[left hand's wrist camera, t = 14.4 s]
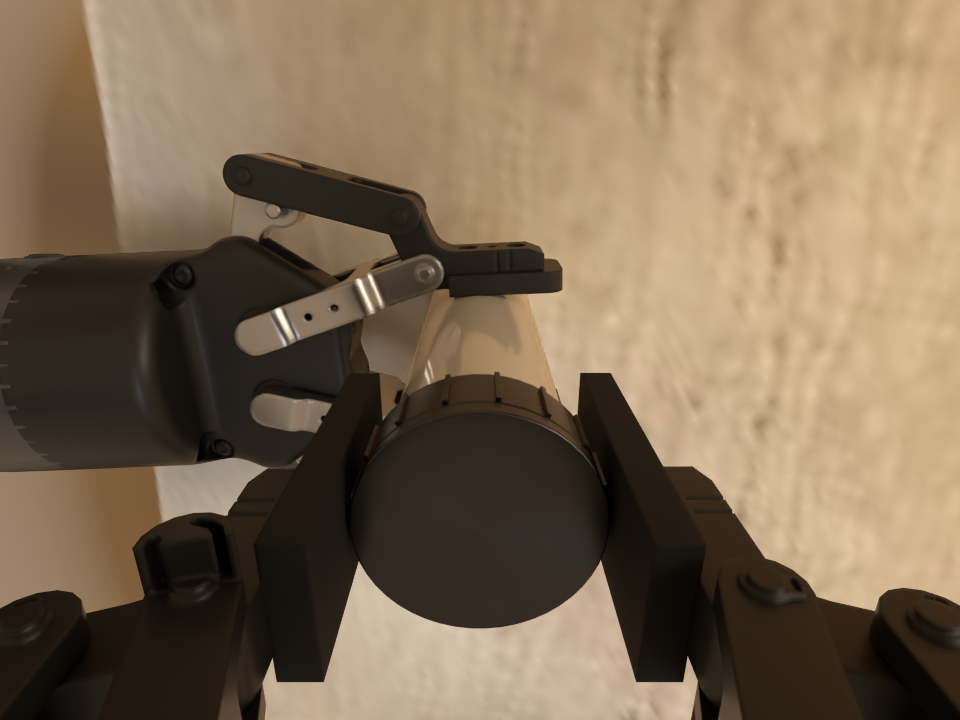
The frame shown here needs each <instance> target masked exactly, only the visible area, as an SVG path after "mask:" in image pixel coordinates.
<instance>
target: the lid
mask: <svg viewBox="0 0 960 720" xmlns="http://www.w3.org/2000/svg"><path fill="white" fill-rule="evenodd" d="M362 459H363V460H364V463H363V464H362V465H361V468H360V471H359V473H358V476H357V479H356V482H355V484H354V487H353V490H352V493H351V495H350V501H351V503H350V513H349V525H350V535H351V539H352V543H353V547H354V550H355V552H356V555H357V557H358V560H359V562H360V564H361V565H362V567H363V569H364V570H365V572H366V574H367V575H368V576H369V578H370V579H371V580H372V581H373V583H374V584H375V585H376V586H377V587H378V588H379V589H380V590H381V591H382V592H383V593H384V594H385V595H386V596H387V597H389V598H390V599H391V600H393V601H394V602H395V603H397V604H398V605H400V606H401V607H403V608H405V609H406V610H408V611H410V612H412V613H414V614H416V615H418V616H421V617H423V618H425V619H428V620H431V621H434V622H437V623H441V624H446V625H450V626H455V627H464V628H495V627H504V626H509V625H514V624H518V623H522V622H525V621H528V620H531V619H534V618H536V617H539V616H541V615H543V614H546V613H548V612H549V611H551V610H553V609H555V608H556V607H558V606H560V605H561V604H563V603H564V602H565V601H567V600H568V599H569V598H571V597H572V596H573V595H574V594H575V593H576V592H577V591H578V590H579V589H580V588H582V587H583V585H584V584H585V583H586V582H587V580H588V579H589V578H590V577H591V576H592V574H593V572H594V571H595V569H596V568H597V566H598V564H599V562H600V560H601V558H602V556H603V553H604V551H605V548H606V544H607V540H608V537H609V529H610V507H609V502H608V498H607V493H606V490H605V489H608V485H607V482H606V479H605V477H604V474H603V471H602V468H601V466H600V463H599V460H598V458H597V455H596V452H592V451H591V449H590V446H589V443H588V441H587V438H586V435H585V432H584V430H583V427H582V424H581V421H580V418H579V417H578V415H577V414H576V415H575V416H573V415H572V414H571V413H570V412H569V411H568V410H567V409H566V408H565V407H564V406H563V405H562V404H561V403H560V402H559V401H557V400H556V399H555V398H553V397H552V396H551V395H549V394H548V393H547V392H546V388H545V387H543V386H540V388H537V387H535V386H533V385H531V384H528V383H526V382H523V381H521V380H517V379H513V378H509V377H505V376H500V372H494V375H491V374H469V375H460V376H454V377H451V374H448V375H445V379H442V380H439V381H436V382H434V383H431V384H428V385H426V386H424V387H422V388H420V389H419V390H417V391H415V392H413V393H412V394H410V395H408V394H407V393H405V394H404V395H403V396H402V399H401V401H400V402H399V403H398V404H397V405H396V406H395V407H394V408H393V409H392V410H391V411H390V412H389V413H388V415H387V416H386V417H385V418H384V420H383V421H382V422H381V424H380V426H377V425H375V426H374V428H373V430H372V433H371V436H370V438H369V441H368V444H367V446H366V449H365V452H364V455H363V457H362Z"/></svg>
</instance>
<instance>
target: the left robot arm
mask: <svg viewBox="0 0 960 720" xmlns="http://www.w3.org/2000/svg"><path fill="white" fill-rule="evenodd" d="M578 417H579V418H580V421H581V424H582V427H583V430H584V432H585V435H586V438H587V441H588V443H589V446H590V449H591V451H592V452H596V455H597V458H598V460H599V463H600V466H601V468H602V471H603V474H604V477H605V479H606V482H607V485H608V489H605V490H606V493H607V498H608V502H609V507H610V529H609V537H608V540H607V544H606V548H605V551H604V553H603V556H602V558H601V562H602V565H603V569H604V572H605V575H606V579H607V582H608V586H609V589H610V593H611V596H612V600H613V603H614V607H615V610H616V614H617V617H618V620H619V624H620V627H621V631H622V634H623V638H624V641H625V645H626V648H627V652H628V655H629V658H630V662H631V665H632V669H633V672H634V676H635V679H636V682H683V679H684V674H685V668H686V662H687V656H688V657H689V660H690V662H691V665H692V667H693V670H694V672H695V675H696V677H697V680H698V685H697V690H696V696H695V701H694V707H693V712H692V717H691V720H960V606H959V605H958V604H956V603H954V602H952V601H950V600H948V599H946V598H944V597H941V596H938V595H935V594H932V593H929V592H926V591H922V590H915V589H908V588H900V589H893V590H888V591H887V592H885V593H884V594H883V595H882V596H881V597H879V601H878V604H877V607H876V610H875V611H871V610H867V609H863V608H858V607H854V606H849V605H845V604H840V603H836V602H832V601H828V600H825V599H822V598H818V597H816V595H815V593H814V592H813V590H812V589H811V587H810V586H809V584H808V582H807V581H806V580H804V579H803V578H802V577H801V576H799V575H798V574H797V573H796V572H795V571H793V570H792V569H790V568H788V567H786V566H784V565H782V564H780V563H778V562H776V561H772V560H768V559H765V557H764V556H763V555H762V553H761V552H760V550H759V549H758V547H757V546H756V544H755V543H754V541H753V540H752V538H751V537H750V536H749V534H748V533H747V531H746V530H745V528H744V527H743V525H742V524H741V522H740V521H739V519H738V518H737V517H736V515H735V514H733V513H732V509H731V508H730V506H729V505H728V503H727V502H726V500H723V496H722V495H721V493H720V492H719V490H718V489H717V487H716V486H715V484H714V483H713V481H712V480H710V479H709V478H708V477H706V476H705V475H703V474H702V473H701V472H699V471H698V470H696V469H695V468H694V467H663V465H662V464H661V462H660V460H659V458H658V456H657V455H656V453H655V451H654V449H653V448H652V446H651V444H650V442H649V440H648V439H647V437H646V435H645V433H644V432H643V430H642V428H641V426H640V425H639V423H638V421H637V419H636V417H635V416H634V414H633V412H632V410H631V409H630V407H629V405H628V403H627V401H626V400H625V398H624V396H623V394H622V393H621V391H620V389H619V387H618V385H617V384H616V382H615V380H614V378H613V377H612V375H611V373H580V387H579V402H578ZM382 421H383V416H382V402H381V387H380V373H349V375H348V377H347V378H346V380H345V382H344V384H343V385H342V387H341V389H340V391H339V393H338V394H337V396H336V398H335V400H334V401H333V403H332V405H331V407H330V409H329V410H328V412H327V414H326V416H325V417H324V419H323V421H322V423H321V425H320V426H319V428H318V430H317V432H316V433H315V435H314V437H313V439H312V441H311V442H310V444H309V446H308V448H307V449H306V451H305V453H304V455H303V456H302V458H301V460H300V462H299V464H298V465H297V467H296V468H268V469H266V470H265V471H264V472H262V473H261V474H259V475H258V476H257V477H255V478H254V479H252V480H251V481H250V482H248V484H247V485H246V487H245V488H244V490H243V491H242V493H241V494H240V495H239V497H238V498H237V502H235V503H234V504H233V506H232V507H231V509H230V510H229V512H228V516H223V515H219V514H215V513H192V514H188V515H184V516H179V517H175V518H173V519H170V520H168V521H166V522H164V523H161V524H159V525H157V526H155V527H154V528H152V529H151V530H150V531H148V532H147V533H146V534H144V535H143V536H142V537H141V538H140V539H139V540H138V542H137V543H136V544H135V546H134V547H133V552H134V556H135V560H136V564H137V567H138V571H139V575H140V579H141V583H142V586H143V590H144V594H145V596H144V598H143V600H140V601H136V602H133V603H130V604H126V605H121V606H117V607H112V608H108V609H104V610H99V611H95V612H91V613H85V610H84V607H83V604H82V601H81V599H80V598H78V597H77V596H76V595H75V594H74V593H72V592H65V591H59V590H56V591H49V592H42V593H36V594H33V595H30V596H27V597H24V598H21V599H19V600H16V601H14V602H12V603H10V604H8V605H6V606H4V607H2V608H0V720H265V709H266V703H265V696H264V690H263V685H262V683H263V680H264V678H265V675H266V673H267V670H268V668H269V665H270V663H271V660H272V658H273V662H274V668H275V674H276V679H277V682H324V679H325V676H326V672H327V669H328V665H329V662H330V659H331V655H332V652H333V648H334V645H335V641H336V638H337V634H338V631H339V627H340V624H341V620H342V617H343V614H344V610H345V607H346V603H347V600H348V596H349V593H350V589H351V586H352V582H353V579H354V576H355V572H356V569H357V565H358V562H359V560H358V557H357V555H356V552H355V550H354V547H353V543H352V539H351V535H350V525H349V513H350V503H351V501H350V495H351V493H352V490H353V487H354V484H355V482H356V479H357V476H358V473H359V471H360V468H361V465H362V464H363V463H364V460H363V459H362V457H363V455H364V452H365V449H366V446H367V444H368V441H369V438H370V436H371V433H372V430H373V428H374V426H375V425H377V426H380V424H381V422H382Z"/></svg>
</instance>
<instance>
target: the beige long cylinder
mask: <svg viewBox="0 0 960 720" xmlns="http://www.w3.org/2000/svg"><path fill="white" fill-rule="evenodd" d="M494 372H500V376H505V377H509V378H513V379H517V380H521V381H523V382H526V383H528V384H531V385H533V386H535V387H537V388H540V386H543V387H545V388H546V392H547V393H548V394H549V395H551V396H552V397H553V398H555V399H556V400H557V401H559V398H558V395H557V392H556V388H555V385H554V382H553V378H552V375H551V372H550V369H549V365H548V362H547V359H546V356H545V352H544V349H543V346H542V343H541V339H540V336H539V333H538V330H537V326H536V323H535V320H534V317H533V313H532V310H531V307H530V304H529V300H528V297H527V294H515V295H493V296H470V297H450V298H449V289H441V290H434V292H433V295H432V298H431V302H430V305H429V308H428V311H427V315H426V318H425V321H424V324H423V328H422V331H421V334H420V337H419V341H418V344H417V347H416V350H415V354H414V357H413V360H412V363H411V367H410V370H409V373H408V376H407V380H406V383H405V386H404V389H403V393H402V396H403V395H404V394H405V393H407V394H408V395H410V394H412V393H413V392H415V391H417V390H419V389H420V388H422V387H424V386H426V385H428V384H431V383H434V382H436V381H439V380H442V379H445V375H448V374H451V377H454V376H460V375H469V374H491V375H494ZM402 396H401V399H402ZM401 399H400V401H401ZM559 402H560V401H559Z"/></svg>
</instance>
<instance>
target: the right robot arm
mask: <svg viewBox="0 0 960 720" xmlns="http://www.w3.org/2000/svg"><path fill="white" fill-rule="evenodd" d="M223 178H224V181H225V183H226V185H227V187H228V188H229V189H230V190H231V191H232V192H233V193H235V194H234V203H233V213H232V223H231V233H230V237H226V238H223V239H220V240H219V241H217V242H216V243H214V244H213V245H211V246H210V247H208V248H206V249H201V250H183V251H162V252H141V253H119V254H98V255H77V256H64V255H61V254H32V255H29V256H26V257H24V258H12V259H0V472H24V471H50V470H76V469H101V468H124V467H149V466H174V465H194V464H201V463H206V462H210V461H215V460H220V459H225V458H240V459H245V460H248V461H251V462H254V463H256V464H259V465H261V466H264V467H269V468H296V467H297V465H298V464H299V462H300V460H301V458H302V456H303V455H304V453H305V451H306V449H307V448H308V446H309V444H310V442H311V441H312V439H313V437H314V435H315V433H316V432H317V430H318V428H319V426H320V425H321V423H322V421H323V419H324V417H325V416H326V414H327V412H328V410H329V409H330V407H331V405H332V403H333V401H334V400H335V398H336V396H337V394H338V393H339V391H340V389H341V387H342V385H343V384H344V382H345V380H346V378H347V377H348V375H349V373H378V372H373V371H370V370H369V362H368V359H367V357H366V354H365V352H364V349H363V347H362V345H361V333H362V327H363V318H365V317H368V316H370V315H372V314H374V313H376V312H378V311H379V310H381V309H383V308H385V307H387V306H390V305H393V304H396V303H399V302H402V301H404V300H407V299H410V298H413V297H416V296H419V295H422V294H425V293H428V292H431V291H433V290H441V289H449V298H450V297H470V296H493V295H515V294H536V293H553V292H558V291H561V290H562V267H561V265H560V264H559V262H558V261H557V260H555V259H544V253H543V251H542V250H541V248H540V247H539V246H537V245H534V244H531V243H528V242H525V241H524V242H508V243H507V242H503V243H482V244H462V245H453V244H449V243H446V242H445V241H443V240H442V239H440V238H439V237H438V235H437V234H436V232H435V230H434V228H433V226H432V224H431V221H430V219H429V217H428V214H427V212H426V203H425V201H424V199H423V198H422V196H421V195H419V194H418V193H417V192H414V191H411V190H407V189H404V188H400V187H396V186H392V185H389V184H385V183H381V182H377V181H374V180H370V179H366V178H362V177H359V176H355V175H351V174H347V173H344V172H340V171H336V170H332V169H329V168H325V167H321V166H318V165H314V164H310V163H306V162H303V161H299V160H295V159H291V158H288V157H284V156H280V155H276V154H272V153H253V154H241V155H235V156H232V157H231V158H229V159H228V160H227V161H226V163H225V165H224V168H223ZM306 213H308V214H312V215H316V216H319V217H323V218H327V219H331V220H335V221H339V222H343V223H346V224H350V225H354V226H358V227H362V228H366V229H370V230H373V231H377V232H381V233H385V234H389V235H390V237H391V239H392V242H393V244H394V246H395V248H396V250H397V252H398V253H395V254H392V255H389V256H387V257H384V258H380V259H379V258H378V259H373V260H370V261H367V262H365V263H362V264H359V265H356V266H353V267H351V268H348V269H345V270H342V271H339V272H337V273H334V274H331V275H329V274H327V273H326V272H324V271H322V270H321V269H319V268H318V267H316V266H314V265H313V264H311V263H309V262H308V261H306V260H304V259H303V258H301V257H300V256H298V255H296V254H295V253H293V252H291V251H290V250H288V249H286V248H285V247H283V246H282V245H280V244H278V243H277V242H275V241H273V240H272V239H270V238H268V235H269V233H270V231H271V229H272V228H273V227H281V228H285V227H289V226H291V225H293V224H296V223H298V222H300V221H301V220H302V219H303V218H304V217H305V216H306ZM404 386H405V384H404V383H403V382H402V381H401V380H400V379H399V378H397V377H394V376H391V375H387V374H382V373H380V387H381V402H382V416H383V420H384V418H385V417H386V416H387V415H388V413H389V412H390V411H391V410H392V409H393V408H394V407H395V406H396V405H397V404H398V403H399V402H400V399H401V396H402V393H403V389H404ZM556 392H557V389H556ZM557 395H558V392H557ZM558 398H559V395H558ZM559 401H560V398H559ZM560 403H561V401H560Z"/></svg>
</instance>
